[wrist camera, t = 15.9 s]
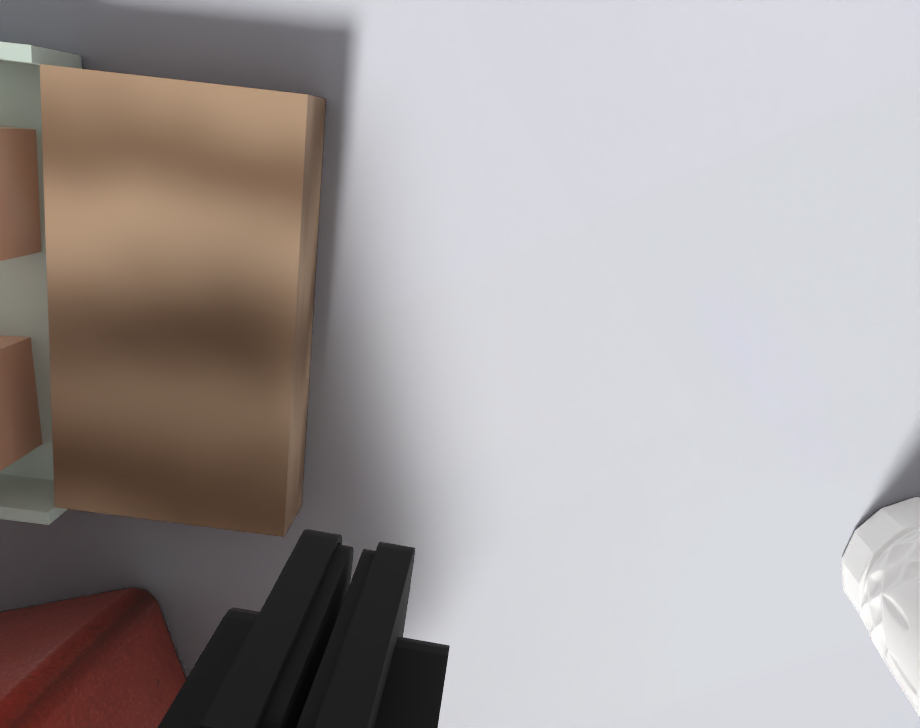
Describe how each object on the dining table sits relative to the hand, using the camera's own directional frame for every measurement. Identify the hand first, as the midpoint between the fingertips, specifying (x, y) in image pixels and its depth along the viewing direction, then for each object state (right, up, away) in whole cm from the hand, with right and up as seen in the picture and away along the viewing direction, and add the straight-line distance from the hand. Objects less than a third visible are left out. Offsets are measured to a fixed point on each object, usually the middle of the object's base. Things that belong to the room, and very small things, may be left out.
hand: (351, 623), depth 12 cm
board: (-10, +7, +22) cm, 25 cm away
